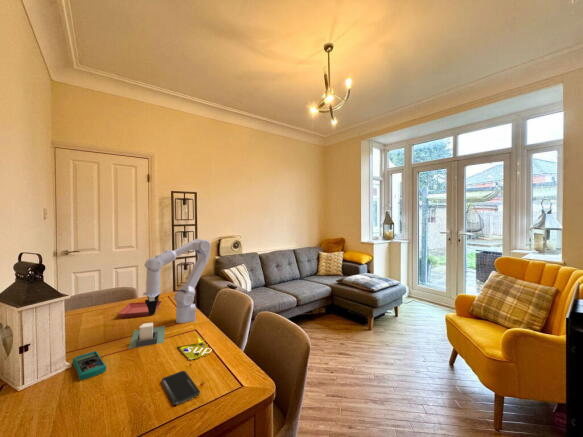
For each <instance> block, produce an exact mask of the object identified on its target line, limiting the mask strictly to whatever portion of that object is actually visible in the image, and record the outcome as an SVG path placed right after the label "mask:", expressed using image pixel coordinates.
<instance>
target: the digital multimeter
mask: <svg viewBox="0 0 583 437" xmlns="http://www.w3.org/2000/svg"><path fill="white" fill-rule="evenodd" d="M73 364H74V365H73ZM72 365H73V367H74V366H75V367H74V368H76V369H75V371H76V370H77V371H76V373H77V376H78V378H79V381H83V379H84V380H88V379H90V378H92V377H96V376H98V375H101V374H103V373H105V372H106V371H107V365H106V364H105V362H104V361H103V359H102V358H101V357H100V354H99V353H98V351H96V350H94V351H91V352H88V353H84V354H80V355H78V356H76V357H73V358H72Z"/></svg>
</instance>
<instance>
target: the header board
mask: <svg viewBox="0 0 583 437" xmlns="http://www.w3.org/2000/svg"><path fill="white" fill-rule="evenodd" d="M165 330H166V325H161V326H155V327H154V326H153V338H152V339H146V340H140V339H139V336H140V329H135V330H133V333H132V336H131V338H130V341H129V345H128V349H134V348H140V347H141V348H142V347H146V346H151V345H152V346H153V345H159V344H164V343H165V337H166V336H165Z"/></svg>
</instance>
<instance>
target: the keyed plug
mask: <svg viewBox="0 0 583 437" xmlns="http://www.w3.org/2000/svg"><path fill="white" fill-rule="evenodd" d="M153 328H154V322H147V323H142V325H141V324H140V326H139V330H140V336H139V339H140V340H146V339H152V338H153Z"/></svg>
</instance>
